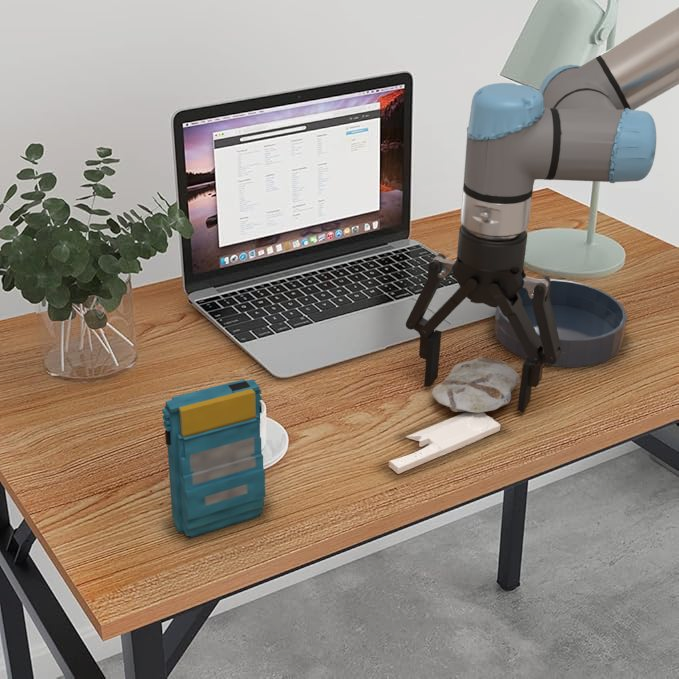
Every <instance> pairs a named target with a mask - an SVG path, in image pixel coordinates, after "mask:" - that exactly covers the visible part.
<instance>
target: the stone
mask: <svg viewBox="0 0 679 679" xmlns="http://www.w3.org/2000/svg"><path fill="white" fill-rule="evenodd" d="M520 382H521V379H520V375H519V374H518V372H517V371H516V370H515V369H513V368H512V367H510V366H509V362H508V361H506V360H502V359H499V358H496V357H490V356H484V355H479V356H477V357H476V358H474V359H471V360H465V361H461V362H459V363H457V364H455V365H454V366H453V367H452V369H451V371H449V374H448V375H447V376H446V377H445V379H444V380H442V382H439V384H437V385H435V386H434V387H433V389H432V391H431V395H432V397H433V399H434V400H435V401H436V402H437V403H439V404H441V405H443V406H445V407H449V409H450V411H452V412H455V413H457V412H459V413H460V412H462V413H465V412H468V411H469V412H476V413H481V412H484V413H485V412H493V411H496V410H497V409H500V408H501V407H503V406H505V405H507V404H509V403H510V401H511V400H512V392H513V391H514V389H515V388H516V386H517V385H518V384H519V383H520Z"/></svg>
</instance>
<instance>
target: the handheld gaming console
mask: <svg viewBox="0 0 679 679" xmlns="http://www.w3.org/2000/svg"><path fill="white" fill-rule="evenodd" d="M261 394H262V389H261V388H260V386H259V384H258V383H257V382H256V381H255V380H254V378H252V379H248V380H246V379H244V378H243V379H240V380H236V381H235V380H234V381H232V382H227V383H223V384H219V385H215V386H212V387H208V388H204V389H200V390H196V391H192V392H188V393H184V394H180V395H176V396H173V397H171V399H170V400H165V402H164V403H165V405H164V408H161V412H162V414H163V415H162V420H163V422H162V426H163V427H164V429H165V430H164V436H165V438H164V439H165V444H166V446H167V460H168V461H167V462H168V473H169V489H170V490H169V491H170V501H171V502H170V503H171V518H172V519H173V525H174V528H175V529H176V531H177V532H178V535H179V534H184V535H185V536H186V537H189V538H190V539H192V538H195V537H198V536H203V535H205V534H208V533H212V532H215V531H218V530H221V529H225V528H227V527H231V526H234V525H237V524H240V523H243V522H247V521H251V520H253V519H256V518H259V517H260V514H263V507H265V498H266V469H265V468H264V455H263V453H262V437H261V414H262V412H263V408H262V406H263V405H262V402H261V401H262V396H261Z"/></svg>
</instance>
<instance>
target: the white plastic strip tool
mask: <svg viewBox="0 0 679 679" xmlns="http://www.w3.org/2000/svg"><path fill="white" fill-rule="evenodd" d="M501 426H502V425H501V424H500V423H499V421H497V420H495V419H494V417H491V416H489V415H487V414H486V413H485V412H481V413H476V412H469V411H464V412H462V413H460V414H458V415H456V416H453V417H450V418H448V419H446V420H442V421H441V422H438V423H435V424H434V425H431V426H428V427H426V428H423V429H420V430H418V431H416V432H413V433H412V434H408V435H406V436H405V438H406V439H410V440H413V441H416V442H418V447H419V448H421V449H419V450H416V451H414V452H412V453H409V454H407V455H403V456H400V457H397V458H394V459H391V460H388V467H389V468H390V469H391V470H392V471H393V472H395V473H396V474H397V475H399V474H402V473H404V472H407V471H409V470H411V469H413V468H416V467H418V466H421V465H423V464H425V463H428V462H430V461H432V460H435V459H437V458H439V457H442V456H444V455H447V454H449V453H452V452H454V451H456V450H457V451H458V450H459V449H462V448H464V447H467V446H469V445H471V444H473V443H476V442H479V441H481V440H482V439H484V438H486V437H488V436H490V435H493V434H495V433H498V432H501ZM424 446H425V447H424ZM422 447H423V448H422Z"/></svg>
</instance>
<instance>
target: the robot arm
mask: <svg viewBox="0 0 679 679" xmlns="http://www.w3.org/2000/svg"><path fill="white" fill-rule="evenodd" d="M678 85H679V7H677V8H676V9H675V8H674V10H672V11H670V12H669V13H667V14H666V15H664V16H662V17H660V18H659V19H657V20H655V21H654V22H653V23H651V24H649V25H647V26H646V27H644V28H643V29H641V30H639V31H638V32H636V33H634V34H633V35H630V36H629V37H628V38H626V39H624V40H623V41H621V42H620V43H618V44H616V45H615V46H613V47H612V48H610V49H608V50H606V51H605V52H603V53H601V54H599V55H598V56H596V57H594V58H592V59H591V60H589V61H588V62H586V63H584V64H582V65H577V64H567V65H562V66H559V67H556V68H555V69H553V70H552V71H551V72H549V73H548V74H547V75H546V76H545V78H543V80H542V82H541V84H540V86H539V89H537V88H536V87H533V86H529V85H525V84H516V83H514V82H513V83H512V82H499V83H498V82H497V83H491V84H487V85H484V86H482V87H481V88H479V89H477V90H476V91H475V92H474V95H473V96H472V99H471V106H470V112H469V119H468V126H466V127H467V128H466V146H465V157H464V158H465V159H464V170H463V171H464V173H463V186H462V195H461V208H460V221H459V222H460V223H461V224H460V227H459V230H458V239H457V240H458V242H457V253H456V260H451V259H448V258H446V255H444V254H442V253H438V254H437V255H436V256H435V257H434V258H433V259H432V260H431V261H430V262H429V263H428V268H427V279H426V281H425V283H424V285H423V287H422V289H421V291H420V292H419V296H418V297H417V300H416V301H415V303H414V305H413V307H412V310H411V311H410V313H409V315H408V317H407V319H406V322H405V327H406V328H407V329H408V330H411V331H412V330H414V331H416V332H417V333H418V334H419V351H418V355H419V358H420V359H422V360H425V368H424V382H423V387H427V388H431V387H432V386H433V385H434V383H435V382H436V380H437V378H438V377H439V366H440V354H441V340H442V330H438V329H437V328H438V327H439V326H440V325H441V324H442V323H443V321H445V320H446V319H447V318H448V316H450V314H452V312H453V311H455V309H456V308H457V307H458V306H459V305H461V303H462V302H464V300H465V299H466V298H467V299H469V300H470V301H469V302H470V303H473V304H484V305H486V306H488V307H490V308H494V309H496V308H497V306H499V308H500V310H501V311H502V313H503V315H504V316H506V317H507V318H508V320H509V322H510V324H511V326H512V328H513V330H514V332H515V334H516V335H517V337H518V339H519V341H520V343H521V345H522V347H523V349H524V351H525V353H526V354H527V356H528V357H527V359H524V362H523V363H522V370H521V371H522V372H521V378H520V386H519V394H518V401H517V402H518V403H517V407H516V408H517V410H516V411H517V412H520V413H525V411H526V409H527V407H528V406H529V404H530V403H531V396H532V388H537V387H538V386H539V384H540V382H541V381H542V379H543V374H544V373H543V372H544V365H545V364H544V363H549V364H555V363H556V361H557V360H558V358H559V356H560V355H561V353H562V348H561V344H560V340H559V336H558V331H557V327H556V323H555V319H554V315H553V311H552V307H551V302H550V298H549V291H550V284H551V281H550V279H551V278H549V277H548V276H542V277H541V278H540V279H539V278H535V277H531V276H527V274H526V272H525V267H524V266H525V259H526V250H527V241H528V232H527V230H528V228H529V226H530V218H531V207H532V198H533V191H534V184H535V181H536V180H544V181H575V182H576V181H577V182H600V183H601V182H604V183H610V184H616V183H625V182H626V183H627V182H639V181H642V180H644V179H646V177H648V175H649V173H650V172H651V170H652V167H653V165H654V161H655V157H656V152H657V127H656V123H655V121H654V118H653V116H652V115H651V114H650V113H649V112H648V111H645V110H637V109H638V108H640V107H642V106H643V105H645V104H647V103H649V102H650V101H652V100H654V99H656V98H657V97H659V96H661V95H663V94H665V93H666V92H668V91H670V90H671V89H673V88H675V87H676V86H678ZM450 273H452V275H453V277H454V278H455V280H456V282H457V284H458V286H459V287H458V288H457V289H456V291H455V292H454V293H453V294H451V296H450V297H449V298H448V299H447V300H446V301H445V302H444V303H443V304H442V306H441V307H440V308H439V309H437V311H436V312H434V314H433V315H432V316H431V317H430V318H429V319H426V318H425V317H424V316H425V314H426V312H427V310H428V308H429V307H430V304H431V302H432V300H433V298H434V296H435V294H436V292H437V290H438V289H439V286H440V284H441V282H442V280H443V279H444V278H446V277H447V276H448V275H449V274H450ZM522 287H523V288H525V289H526V290H527V291H528V295H529V298H531V299H533V309H534V313H535V317H536V321H537V325H538V329H539V333H540V337H541V340H540V338H539V336H538V334H537V332H536V330H535V329H534V327H533V325H532V323H531V321H530V319H529V317H528V315H527V313H526V311H525V309H524V307H523V305H522V300H521V297H520V295H519V294H518V291H520V290H521V289H522ZM541 341H542V342H541Z"/></svg>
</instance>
